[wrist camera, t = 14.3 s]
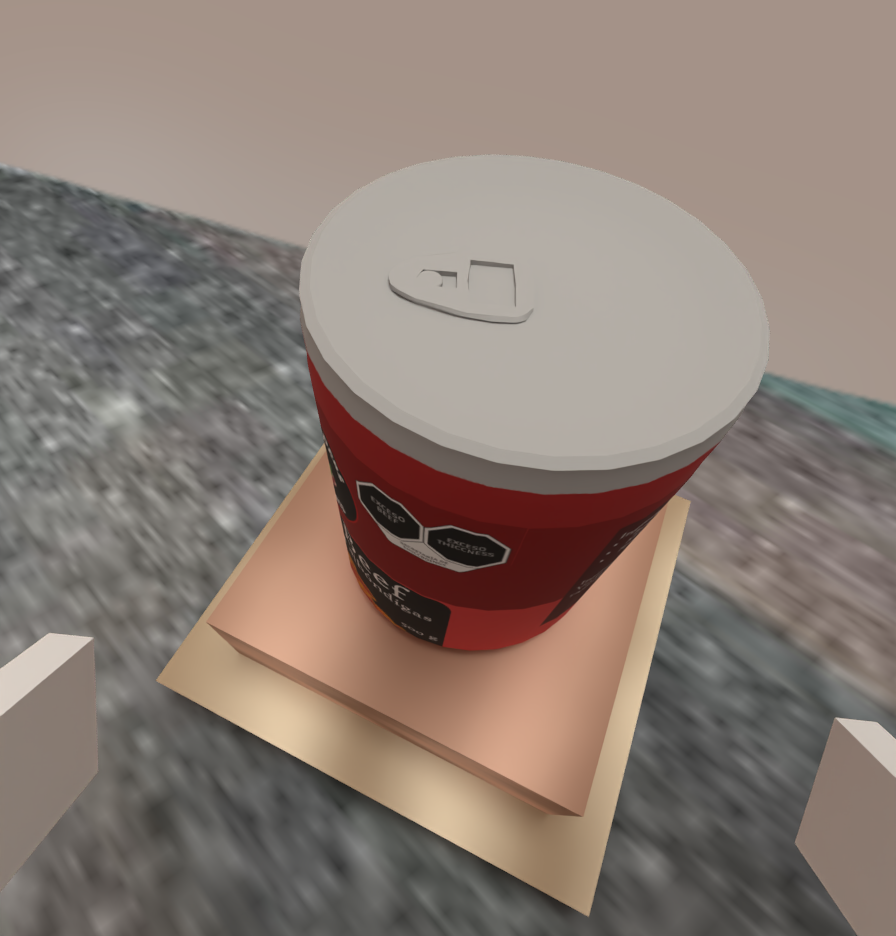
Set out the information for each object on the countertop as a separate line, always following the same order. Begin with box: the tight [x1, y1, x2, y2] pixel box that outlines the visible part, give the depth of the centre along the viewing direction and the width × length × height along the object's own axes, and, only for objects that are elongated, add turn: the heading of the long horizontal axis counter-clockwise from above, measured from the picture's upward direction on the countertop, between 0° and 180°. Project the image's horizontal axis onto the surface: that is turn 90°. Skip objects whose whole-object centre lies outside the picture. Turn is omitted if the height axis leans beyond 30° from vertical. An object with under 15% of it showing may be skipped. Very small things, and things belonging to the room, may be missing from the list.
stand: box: [156, 443, 691, 917], centre depth 21 cm, size 16×16×6 cm
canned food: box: [299, 155, 770, 651], centre depth 14 cm, size 8×8×11 cm
